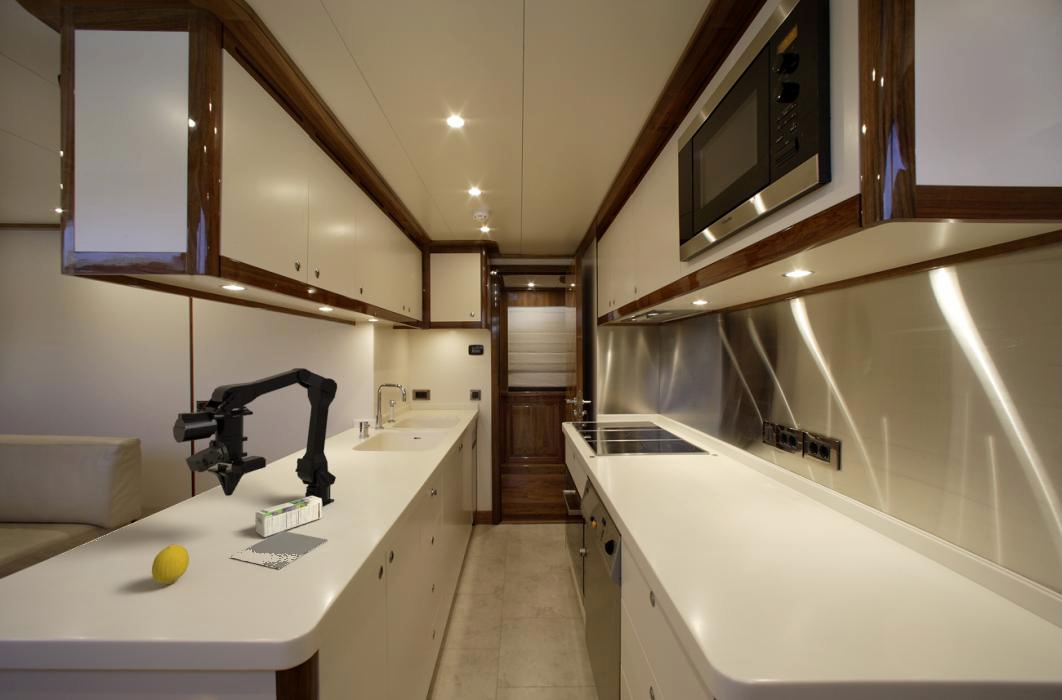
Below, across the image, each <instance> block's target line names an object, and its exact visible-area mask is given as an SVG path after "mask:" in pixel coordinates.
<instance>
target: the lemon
mask: <svg viewBox="0 0 1062 700" xmlns="http://www.w3.org/2000/svg"><path fill="white" fill-rule="evenodd" d="M189 564H190V554H189V551H188V550H187V548H185V547H184V546H182V545H178V544H176V545H175V544H169V545H168V546H167V547H165V548H163V549H162V550H161V551H159V553H157V554H156V556H155V558H154V559H153V561H152V566H151V575H152V578H153V579H154V580H155V581H156V582H157V583H159V584H167V585H172V584H173V583H174V582H175V581H176V580H179V579H180V578H181V577H182V576H183V575H184V574H186V572H187V570H188V567H189Z"/></svg>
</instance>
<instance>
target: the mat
mask: <svg viewBox="0 0 1062 700" xmlns="http://www.w3.org/2000/svg"><path fill="white" fill-rule="evenodd" d="M326 541H327V542H328V539H326V538H321V537H315V536H312V535H310V536H309V535H307V534H306V535H305V534H300V533H296V532H290V531H287V530H284V531H282V532H279V533H276V534H273V535H270V536H268V537H267V538H264V539H263V540H261V541H259V542H257V543H255V544H253V545H251V546H249V547H247V548H245V549H246V550H248V549H249V550H251V549H252V552H253V553H254V551H255V552H256V553H260V554H261V553H264V554H265V553H269V554H272V553H274V554H275V555H277V554H281V555H282V554H284V555H283V556H286V557H288V556H287V555H286V554H288V555H291V556H296V554H297V556H296V557H299V555H302V554H304V553H306V552H308V551H309V550H311V549H313V548H315V547H317V546H318V545H320V544H322V543H323V544H325V543H326ZM324 542H325V543H324ZM323 544H322V545H323ZM320 546H321V545H320ZM250 547H251V548H250ZM318 547H319V546H318ZM318 547H317V548H318ZM245 549H244V550H245ZM315 549H316V548H315ZM246 550H245V551H246ZM313 550H314V549H313ZM239 552H240V551H239ZM239 552H237V553H239ZM241 553H242V552H241ZM285 553H286V554H285ZM308 553H309V552H308ZM292 554H295V555H292ZM233 555H234V554H233ZM233 555H230V556H231V557H232V556H233ZM281 555H277V556H279V557H282V556H281ZM271 556H273V555H271ZM282 558H283V557H282ZM294 558H295V557H294ZM271 559H272V558H271ZM279 559H281V558H279ZM286 559H288V558H286ZM286 559H284V560H286ZM291 560H294V559H291ZM279 561H281V560H278V561H277V562H272V563H271V562H269V561H268V562H269V563H267V562H265V563H263V564H264V565H268V566H273V567H276V568H281V567H282V566H284V565H285V564H287V563H289V562H287V561H288V560H287V561H283V562H279ZM263 562H264V561H263ZM275 563H277V564H275ZM273 564H275V565H273ZM281 569H282V568H281Z"/></svg>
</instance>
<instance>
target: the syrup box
mask: <svg viewBox="0 0 1062 700" xmlns="http://www.w3.org/2000/svg"><path fill="white" fill-rule="evenodd" d="M322 518H323V507H322V499H321V498H318V497H315V496H309V497H306V498H305V497H303V498H298V499H296V500H293V501H289V502H285V503H281V504H278V505H275V506H271V507H267V508H265V509H261V510H258V511H255V530H256V531H255V532H256V534H258V535H260V536H262V537H263V538H266V537H267V538H268V537H271V536H273V535H275V534H277V533H279V532H282V531H287V530H290V529H293V528H295V527H298V526H301V525H304V524H308V523H310V522H313V521H316V520H319V519H322Z"/></svg>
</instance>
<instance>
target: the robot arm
mask: <svg viewBox="0 0 1062 700" xmlns="http://www.w3.org/2000/svg"><path fill="white" fill-rule="evenodd" d="M296 384H297V385H299V386H300V387H302V388H304V389H306V390H307V398H308V401H309V404H310V406H311V407H310V414H309V415H310V416H309V422H308V423H309V425H308V430H307V431H308V433H307V440H306V449H305V453H304V454H303V456H302V458H301V457H299V458H296V459H297V460H296V468H295V470H294V471H295V472H296V476H297V478H299V479H300V480H301V482H302V484H303V485H307V486H306V488H305V489H306V490H305V491H306V492H305V494H304V496H305V497H304V498H306V497H309V496H315V497H318V498H321V499H322V508H323V507H325V506H327V505H329V504H331V503H333V502H334V501H335V499H334V498H331V486H333V485H334V484H335V482H336V479H337V478H336V476H335V475H334V474H332V473H331V472H330V471H329V464H328V463H329V462H328V459H327V456H326V454H325V444H326V435H327V426H328V418H329V411H330V410H329V408H330V405H331V404H332V403H333V401H334V399H335V398H336V395H337V391H338V383H337V382H336V381H335V380H334V379H333V378H328V377H324V376H323V375H319V374H318V373H317V374H316V373H315V372H312V371H310V370H308V369H307V368H305V367H303V368H302V367H295V368H292V369H290V370H287V371H284V372H280V373H276V374H274V375H270V376H268V377H264V378H261V379H258V380H257V379H256V380H255V381H254V380H253V381H249V382H241V383H231V384H225V385H220V386H217V387H216V388H214V390H213V392H212V394H211V398H210V399H209V400H207V402H206V403H205V404H204V405H203V407H202V409H200V411H195V412H181V413H180V412H179V413H178V414H177V419H176V420H175V423H174V425H173V426H172V435H173V439H174V441H176V443H178V444H181V443H188V442H192V441H199V440H205V439H210V438H211V437H212V436H214V439H210V441H209V443H208V447H207V448H204V449H202V450H199V451H197V452H196V453H194V454H192V455H190V456H189V457H187V458H185V462H186V464H187V466H188V468H189V471H191V472H197V473H204V472H206V471H207V472H208V473H212V474H213V475H215V476H216V477H217V479H218V481H219V483H220V485H221V489H222V491H223V493H224V495H225V496H227V497H229V496H232V495H233V493H234V491H235V490H236V488H237V486H238V485H239V483H240V481H241V479H242V477H244V475H246V474H247V473H248V474H249V473H252V472H254V471H255V472H256V471H258V470H262V469H264V468H267V459H266V458H265V457H264V456H258V455H251V456H248V452H247V451H244V442H247V441H248V436H246V435H245V436H244V426H245V425H244V419H245V418H244V417H245V416H251V415H254V412H253V411H252V410H251V409H249V408H248V407H247V406H246V405H248V404H251V403H252V402H253V401H255V400H257V398H259V397H261V396H262V395H266V394H269V393H271V392H275V391H277V390H281V389H284V388H286V387H289V386H293V385H296Z"/></svg>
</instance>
